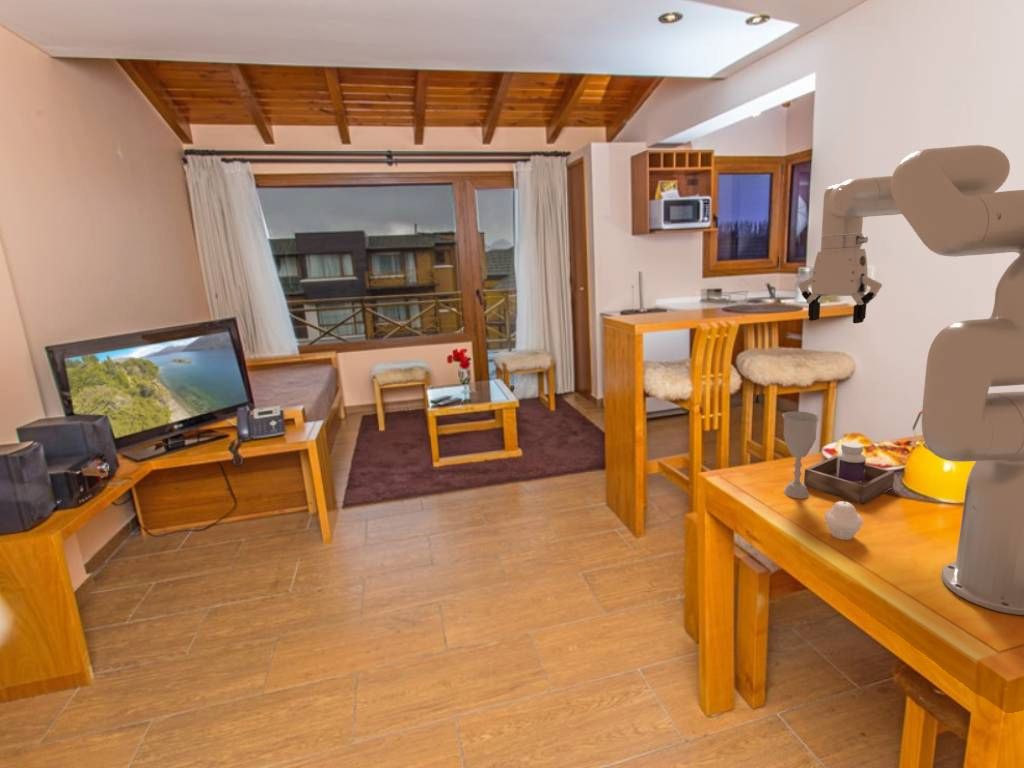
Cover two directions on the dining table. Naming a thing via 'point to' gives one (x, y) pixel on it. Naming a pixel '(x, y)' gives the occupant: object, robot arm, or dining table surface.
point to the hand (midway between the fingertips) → (835, 321)
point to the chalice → (799, 445)
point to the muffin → (843, 520)
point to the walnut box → (848, 482)
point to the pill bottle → (851, 462)
